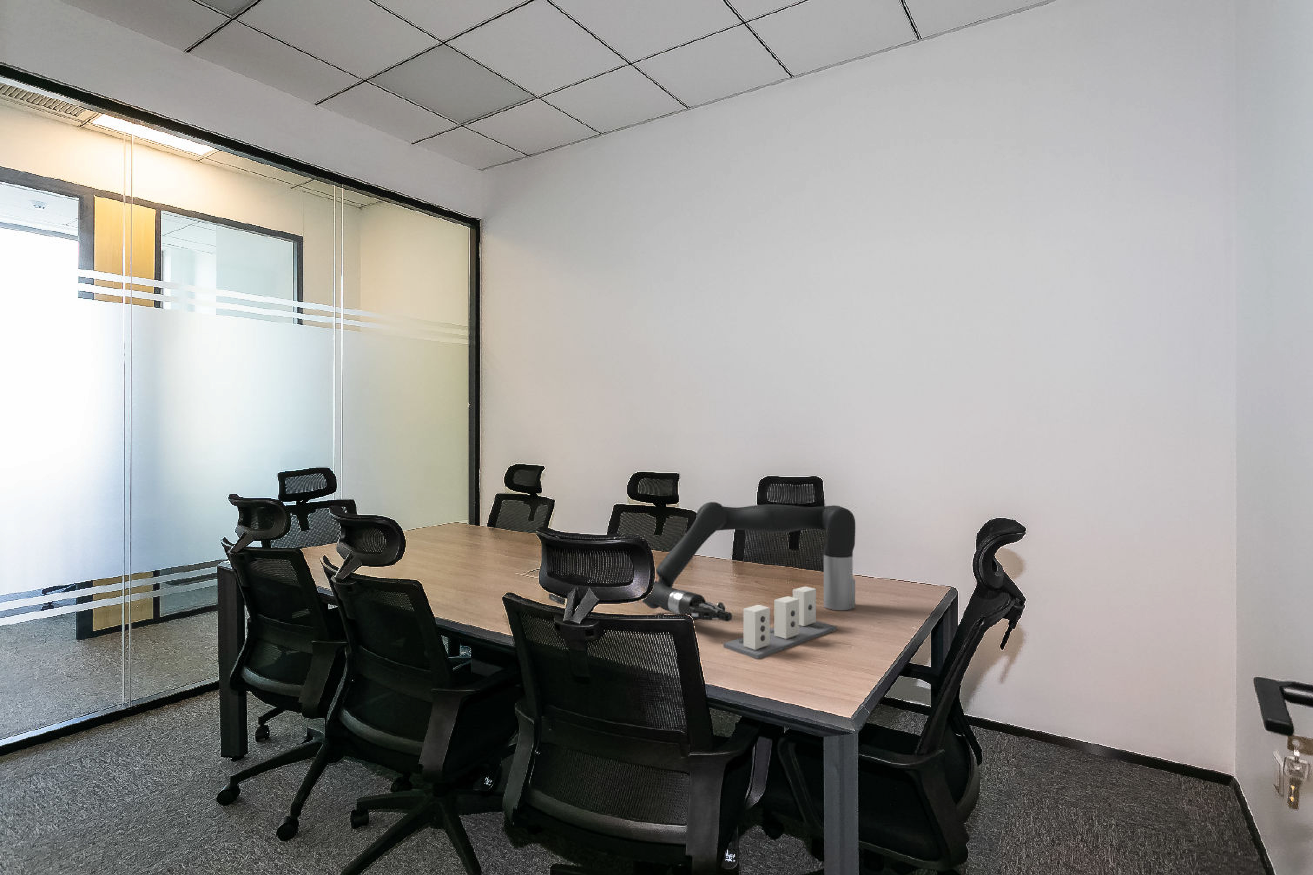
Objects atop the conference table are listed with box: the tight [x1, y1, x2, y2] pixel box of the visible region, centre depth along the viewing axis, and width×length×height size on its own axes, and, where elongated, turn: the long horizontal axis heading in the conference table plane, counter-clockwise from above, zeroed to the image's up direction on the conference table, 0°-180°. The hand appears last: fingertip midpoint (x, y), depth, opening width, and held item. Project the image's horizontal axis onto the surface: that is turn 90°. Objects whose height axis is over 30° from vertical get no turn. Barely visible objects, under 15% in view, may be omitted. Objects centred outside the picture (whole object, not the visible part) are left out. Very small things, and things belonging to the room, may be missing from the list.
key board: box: [723, 620, 838, 660], centre depth 185 cm, size 12×36×1 cm, turn 131°
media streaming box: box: [548, 593, 565, 606], centre depth 229 cm, size 15×15×3 cm
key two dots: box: [773, 595, 799, 639], centre depth 183 cm, size 4×6×10 cm
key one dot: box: [792, 586, 817, 626], centre depth 195 cm, size 4×6×10 cm
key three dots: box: [742, 604, 771, 650], centre depth 175 cm, size 4×6×10 cm
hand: (730, 617), depth 182 cm, fingers closed
